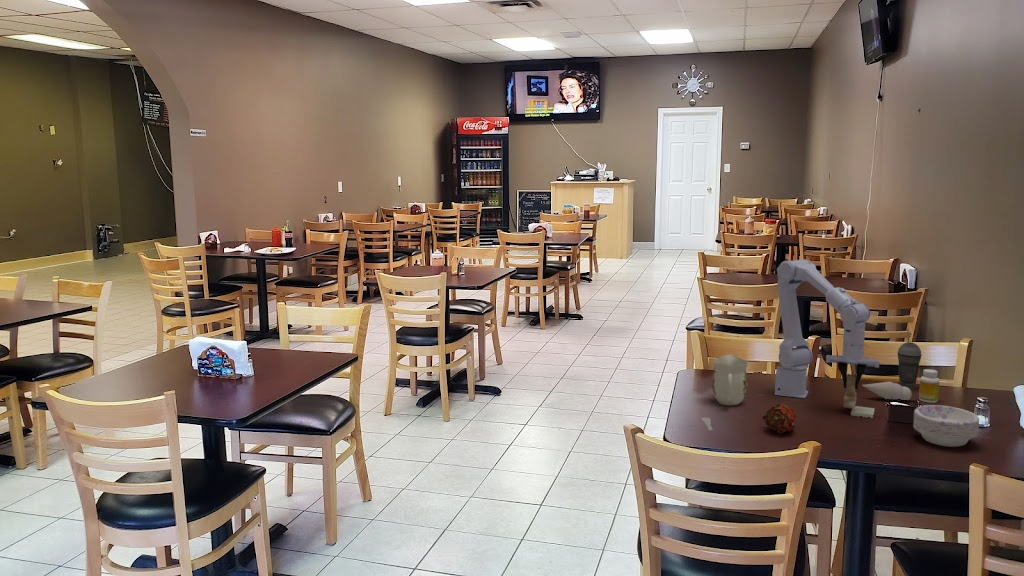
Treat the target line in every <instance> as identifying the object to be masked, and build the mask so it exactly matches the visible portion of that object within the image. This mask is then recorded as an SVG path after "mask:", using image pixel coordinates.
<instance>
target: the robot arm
mask: <svg viewBox="0 0 1024 576" xmlns="http://www.w3.org/2000/svg"><path fill="white" fill-rule="evenodd" d="M776 272H777V273H776V274H777V283H776V284H777V285H776V288H777V289H776V290H777V296H778V303H779V310H780V317H781V323H782V331H783V336H784V338H783V340H782V342H781V343H780V344H779V345H778V346H779V347H778V348H779V352H778V361H779V365H780V366H779V365H778V366H776V371H775V379H774V380H775V382H774V383H775V384H774V395H775V396H781V397H782V396H783V397H790V398H791V397H792V398H800V399H806V398H807V396H808V393H809V391H808V390H807V370H808V368H809V365H810V364H811V363H812V361H813V359H814V357H813V355H814V354H813V351H812V350H811V348H810V345H809V341H807V340H806V339H805V338H804V337H803V331H802V326H801V319H800V311H799V305H798V299H797V291H796V290H797V289H798V287H799V286H800V285H801V284H802V283H804V282H808V283H809V284H811V286H813V287H814V288H816V289H817V290H818V291H819V292H820V293H822V294H824V296H825V301H826V302H827V303H828V304H829V305H830V306H831V307H832V308H833V309H834V310H836V311H837V312H838V313H839V315H840V319H841V321H842V327H843V338H842V339H843V341H842V354H841V355H835V354H834V355H833V354H832V355H830V354H826V356H825V358H826V359H825V363H827V364H828V363H829V364H830V363H831V364H832V363H833V364H834V363H835V364H837V368H838V370H839V372H840V376H841V377H842V378H841V379H842V383H843V389H846V385H847V374H848V367H849V366H848V365H852V366H853V365H854V366H856V369H855V370H856V371H855V372H856V374H855V375H856V383H855V390H858V389H859V383H860V381H861V378H862V376H863V375H864V373H865V371H866V369H867V367H874V368H880V359H874V358H873V359H872V358H868V357H864V348H865V347H864V346H865V336H866V335H865V334H866V333H865V332H866V322H867V321H869V319H870V318H871V311H870V310H871V309H870V308H869V307H868V306H867V304H866V303H863V302H858V301H857V300H856V299H855V298H853V297H851V296H850V295H849V294H848V293H847V292H846V291H847V290H846V289H845V288H844V287H834V286H833V285H832V283H831V282H829V281H828V280H827V279H826V277H824V276H823V275H822V274H821V273H820V272H819V270H817V266H816V264H814V263H812V261H810V259H807V258H802V259H795V260H784V261H782V262H781V263H780V264H779V265H778V267H777V268H776Z"/></svg>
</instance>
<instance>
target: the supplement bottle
mask: <svg viewBox="0 0 1024 576" xmlns="http://www.w3.org/2000/svg"><path fill="white" fill-rule="evenodd" d="M938 372H939V371H937V370H935V369H932V368H931V369H930V368H929V369H928V368H927V369H926V368H925V369H923V372H922V374H923V375H922V376H921V377H920V378H919V391H918V392H919V393H918V399H919V401H921V402H924V403H929V404H930V403H931V404H933V403H938V401H939V392H940V378H939V377H938Z"/></svg>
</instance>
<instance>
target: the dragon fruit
mask: <svg viewBox="0 0 1024 576" xmlns="http://www.w3.org/2000/svg"><path fill="white" fill-rule="evenodd" d="M761 417H762V420H763V421H764V423H765V425H766V426H767V428H769V429H770V430H772V431H775V432H776V433H779V434H784V433H786V431H787V432H792V431H794V429H795V423H796V421H797V414H796V411H795V410H794V409H793V408H791V407H789V405H787V404H786V403H784V402H781V403H779V404H775V405H772V406H771V407H769V408H768V410H766V412H765V414H763V415H762V416H761Z"/></svg>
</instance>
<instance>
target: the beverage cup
mask: <svg viewBox="0 0 1024 576" xmlns="http://www.w3.org/2000/svg"><path fill="white" fill-rule="evenodd" d="M909 330H910V329H909V328H907V329H906V334H907V335H906V336H907V337H906V338H907V342H905V343H903V344H901V345H900V346H899V348H898V351H897V360H898V384H899V385H901V386H902V387H903V386H904V387H907V388H909V389H910V390H911V391H912V390H914V391H915V387H916V384H917V379H918V373H919V367H920V362H921V359H922V350H921V348H920V347H919V346H918V344H917V343H914V342H911V341H910V331H909Z"/></svg>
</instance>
